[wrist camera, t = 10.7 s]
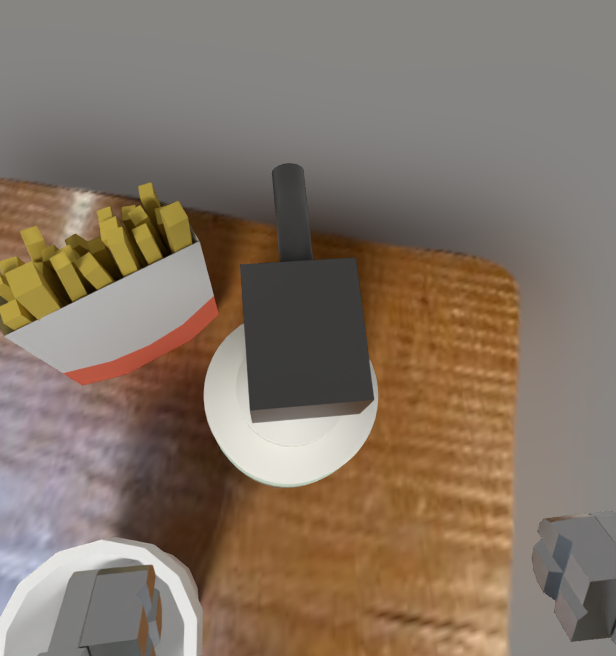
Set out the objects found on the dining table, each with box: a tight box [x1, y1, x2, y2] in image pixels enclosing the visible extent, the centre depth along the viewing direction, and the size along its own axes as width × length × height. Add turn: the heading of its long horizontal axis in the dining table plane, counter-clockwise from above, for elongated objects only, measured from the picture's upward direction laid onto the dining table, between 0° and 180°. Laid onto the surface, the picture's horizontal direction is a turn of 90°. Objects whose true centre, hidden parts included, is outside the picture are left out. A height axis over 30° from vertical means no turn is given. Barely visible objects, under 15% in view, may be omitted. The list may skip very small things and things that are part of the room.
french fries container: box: [0, 183, 219, 385], centre depth 35 cm, size 5×11×18 cm, turn 121°
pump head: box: [240, 163, 374, 423], centre depth 23 cm, size 4×9×9 cm, turn 6°
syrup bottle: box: [204, 323, 378, 488], centre depth 32 cm, size 9×9×22 cm
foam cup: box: [0, 537, 203, 656], centre depth 32 cm, size 10×9×13 cm
